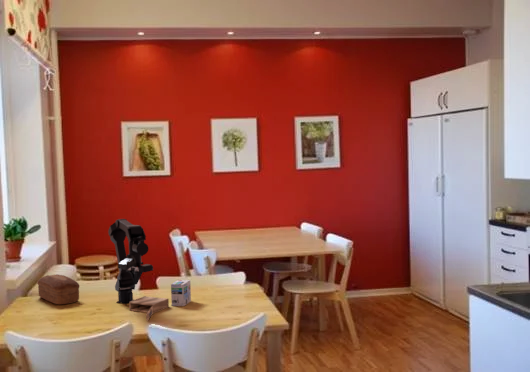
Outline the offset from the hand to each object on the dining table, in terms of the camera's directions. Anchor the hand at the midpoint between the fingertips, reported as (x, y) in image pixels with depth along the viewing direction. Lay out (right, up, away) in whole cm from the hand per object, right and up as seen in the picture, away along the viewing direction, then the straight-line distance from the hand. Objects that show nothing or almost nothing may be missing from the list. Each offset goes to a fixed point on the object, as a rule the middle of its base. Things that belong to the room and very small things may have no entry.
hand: (135, 284), depth 288 cm
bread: (-44, -12, +22) cm, 51 cm away
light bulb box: (+21, -11, +9) cm, 25 cm away
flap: (+10, -12, -16) cm, 22 cm away
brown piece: (+6, -12, 0) cm, 13 cm away
